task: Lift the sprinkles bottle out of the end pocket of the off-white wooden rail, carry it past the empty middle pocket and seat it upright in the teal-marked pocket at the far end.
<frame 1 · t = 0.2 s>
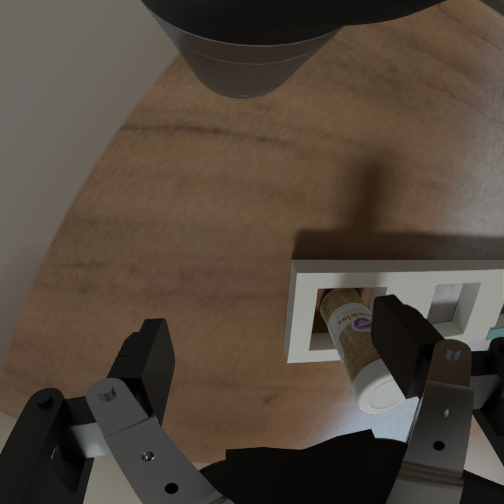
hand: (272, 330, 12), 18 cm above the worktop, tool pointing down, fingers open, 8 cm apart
sprinkles bottle: (338, 303, 33), resting in rail
rail: (438, 299, 33), on the worktop
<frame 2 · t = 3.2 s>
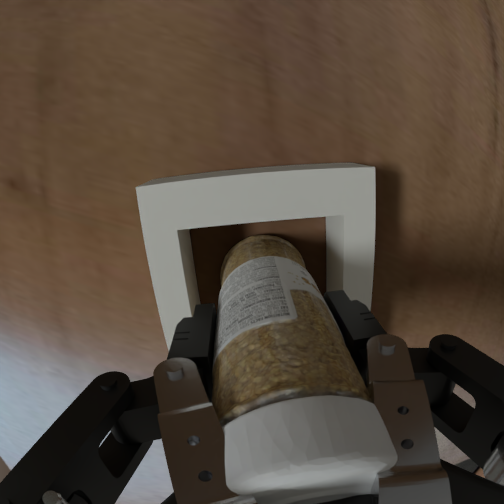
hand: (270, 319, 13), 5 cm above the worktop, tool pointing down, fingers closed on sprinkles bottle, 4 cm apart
sprinkles bottle: (261, 271, 17), resting in rail, touching gripper
rail: (273, 431, 21), on the worktop
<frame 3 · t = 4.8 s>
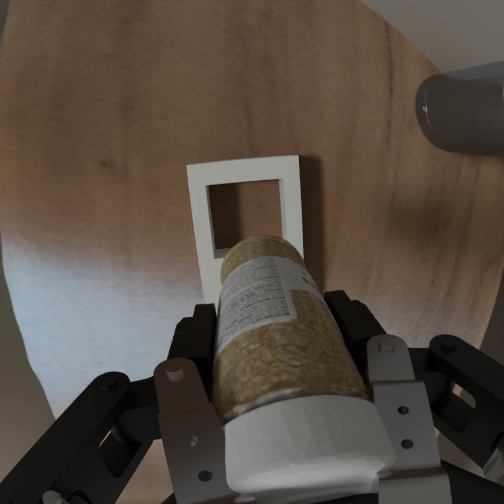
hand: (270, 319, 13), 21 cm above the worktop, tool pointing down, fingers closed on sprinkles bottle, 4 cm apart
sprinkles bottle: (261, 271, 17), point 16 cm above the worktop, touching gripper
rail: (256, 325, 37), on the worktop
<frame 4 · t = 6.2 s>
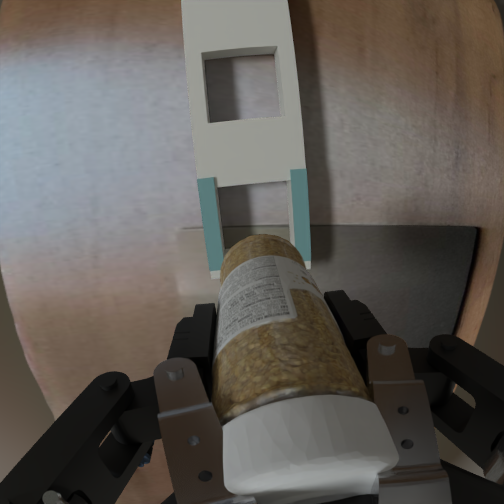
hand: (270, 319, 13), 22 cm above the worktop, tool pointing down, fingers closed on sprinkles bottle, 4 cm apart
sprinkles bottle: (261, 270, 17), point 17 cm above the worktop, touching gripper
rail: (242, 88, 29), on the worktop
vaping device: (156, 392, 41), on the worktop
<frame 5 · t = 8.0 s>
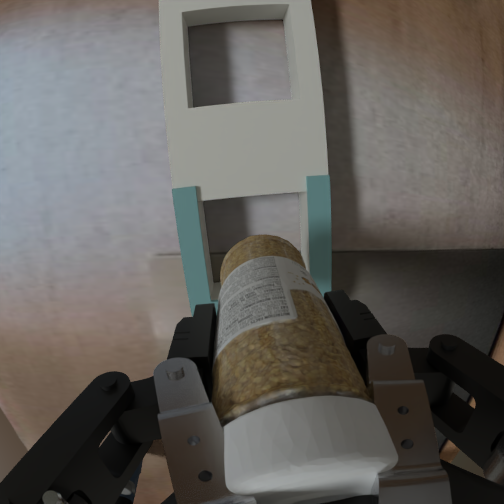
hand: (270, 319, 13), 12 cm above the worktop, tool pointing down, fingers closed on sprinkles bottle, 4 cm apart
sprinkles bottle: (261, 271, 17), point 7 cm above the worktop, touching gripper
rail: (239, 62, 20), on the worktop
vaping device: (136, 440, 32), on the worktop
when the fingers open (6 cm above the worktop, at t = 9.6 s): sprinkles bottle drops 1 cm, resting in rail.
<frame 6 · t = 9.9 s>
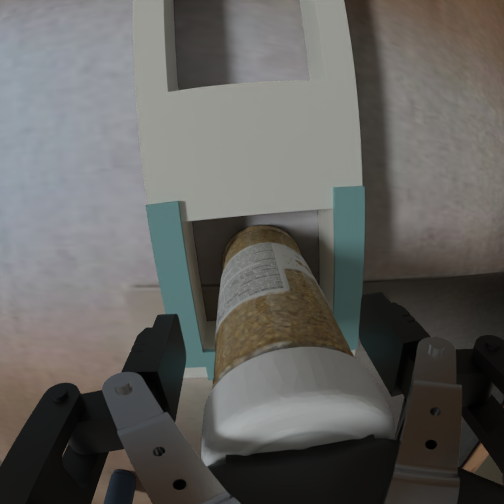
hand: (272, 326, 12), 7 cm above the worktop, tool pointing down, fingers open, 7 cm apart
sprinkles bottle: (260, 259, 19), resting in rail
rail: (239, 34, 14), on the worktop
vaping device: (125, 478, 26), on the worktop
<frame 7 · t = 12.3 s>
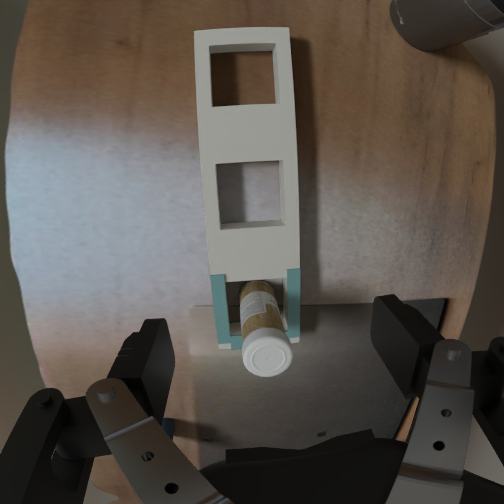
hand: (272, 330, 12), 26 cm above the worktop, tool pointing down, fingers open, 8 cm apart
sprinkles bottle: (255, 294, 40), resting in rail
rail: (249, 191, 36), on the worktop
vaping device: (166, 425, 47), on the worktop
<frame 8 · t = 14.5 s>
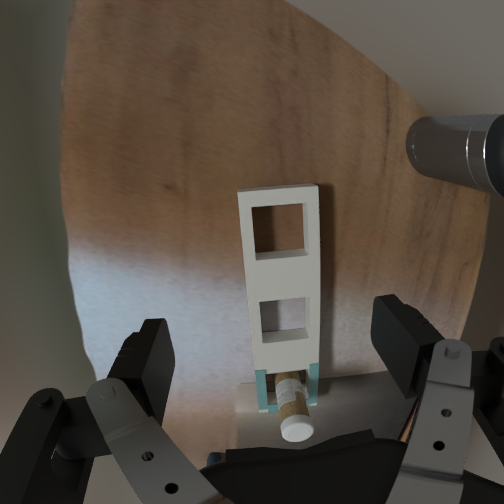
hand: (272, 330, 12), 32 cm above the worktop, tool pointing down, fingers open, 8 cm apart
sprinkles bottle: (285, 374, 52), resting in rail
rail: (282, 310, 48), on the worktop
vaping device: (213, 457, 60), on the worktop
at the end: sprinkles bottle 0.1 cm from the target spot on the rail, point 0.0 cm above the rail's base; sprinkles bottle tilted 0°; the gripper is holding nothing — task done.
